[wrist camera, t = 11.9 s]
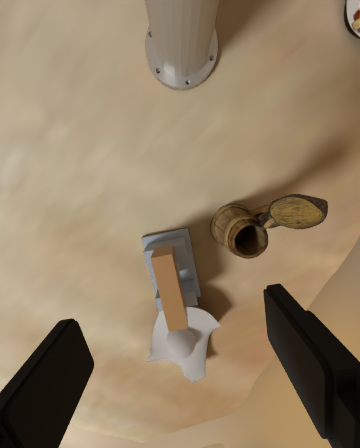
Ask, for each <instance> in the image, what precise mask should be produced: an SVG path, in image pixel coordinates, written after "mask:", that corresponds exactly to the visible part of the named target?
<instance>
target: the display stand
mask: <svg viewBox="0 0 360 448" xmlns="http://www.w3.org/2000/svg"><path fill="white" fill-rule="evenodd" d="M142 242H143V246H144V256H145V260H146V264H147V267H148V266H149V270H150V274H151V278H152V282H153V286H154V290H155V294H156V298H155V299H156V303H157V307H158V311H159V312H161V311H163V307H162V303H161V299H160V295H159V291H158V287H157V283H156V279H155V275H154V271H153V266H152V262H151V256H152V253H153V250H154V248H156V247H161V246H166V245H172V244H173V247H174V251H175V256H176V260H177V265H178V270H179V274H180V279H181V283H182V288H183V292H184V297H185V302H186V306H187V307H189V306H194V305H198V303H197V297H201V292H200V287H199V282H198V277H197V272H196V267H195V262H194V257H193V252H192V246H191V241H190V236H189V231H188V228H184V229H179V230H174V231H168V232H163V233H158V234H153V235H148V236H143V237H142Z"/></svg>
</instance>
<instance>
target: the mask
mask: <svg viewBox="0 0 360 448" xmlns="http://www.w3.org/2000/svg"><path fill="white" fill-rule="evenodd" d="M187 314H188V328H187V329H181V330H176V331H170V332H169V331H168V327H167V323H166V319H165V315H164V311H161V312H160V313H159V315H158V318H157V320H156V323H155V327H154V331H153V336H152V342H151V349H150V353H151V354H150V355H149V358H148V362H149V361H157V360H165V361H170V362H173V363H175V364H177V365H179V366H180V367H181V368H182V370H183V374H184V375H185V377H186V378H187V379H188V380H190V381H191V382H192V383H193V382H196V381H197V380H200V379H202V378H204V377H205V376H206V372H205V371H206V370H205V368H206V367H205V365H206V352H207V345H208V339H209V336H210V334H211V332H212V331H213V330H214V329H216V328H218V327H221V326H220V324H219V323H218V322H217V321H216V320H215V318H214V317H213V316H212V315H211V314H210V313H208V312H207V311H205V310H203V309H201V308H199V307H197V306H195V305H194V306H189V307H187Z"/></svg>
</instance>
